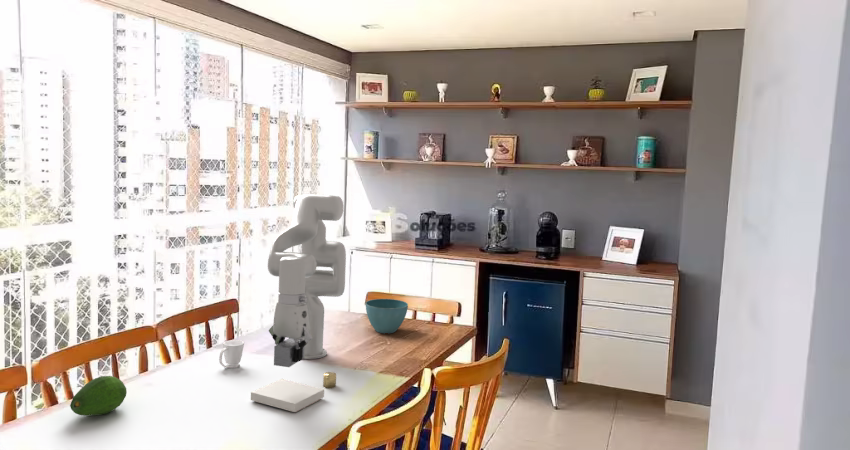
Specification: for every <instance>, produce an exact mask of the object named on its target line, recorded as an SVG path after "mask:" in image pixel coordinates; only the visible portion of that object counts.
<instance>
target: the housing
mask: <svg viewBox="0 0 850 450" xmlns="http://www.w3.org/2000/svg"><path fill="white" fill-rule="evenodd" d="M299 343H300V341H299ZM294 349H296V346H295V342H294V339H291V338H287V339H285V340H284V341H283V342H281V343H279V344H278V345H276V344H275V345H274V350H273V351H274V352H273V366H276V367H283V368H284V367H285V368H291V367H292V366H294V365H296V364H297V363H298V362H294ZM303 358H304V347H303V357H302V360H304V359H303Z"/></svg>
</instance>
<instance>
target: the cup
mask: <svg viewBox="0 0 850 450" xmlns="http://www.w3.org/2000/svg"><path fill="white" fill-rule="evenodd" d="M244 346H245V342H244V341H243V340H240V339H239V340H238V339H237V340H236V339H232V340H231V339H230V340H225V341H224V342H223V343H222V347H223V348H222V349H221V351H220V353H219V359H218V360H219V364H220V365H221V366H222V367H224V368H227V369H229V368H231V369H235V368H238V367H240V362H241V360H242V357H243V351H244ZM223 354H224V361H225V363H226V365H225V364H224V363H223V360H222V359H223Z"/></svg>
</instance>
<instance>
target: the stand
mask: <svg viewBox="0 0 850 450" xmlns="http://www.w3.org/2000/svg"><path fill="white" fill-rule="evenodd" d="M323 398H325V388H320V387H317V386H312V385H309V384H304V383H302V382H301V383H300V382H297V381H293V380H288V379H285V378H280V379H278V380H275V381H274V382H271V383H269V384H267V385H265V386H264V385H263V386H261V387H259V388H258V389H255V390H253V391H250V401H252V402H255V403H259V404H263V405H267V406H271V407H274V408H279V409H282V410H286V411H288V412H292V413H298V412H299V411H301V410H303V409H306V408H307V407H310V406H311V405H313V404H314V403H317V402H319V401H320V400H321V399H323Z"/></svg>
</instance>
